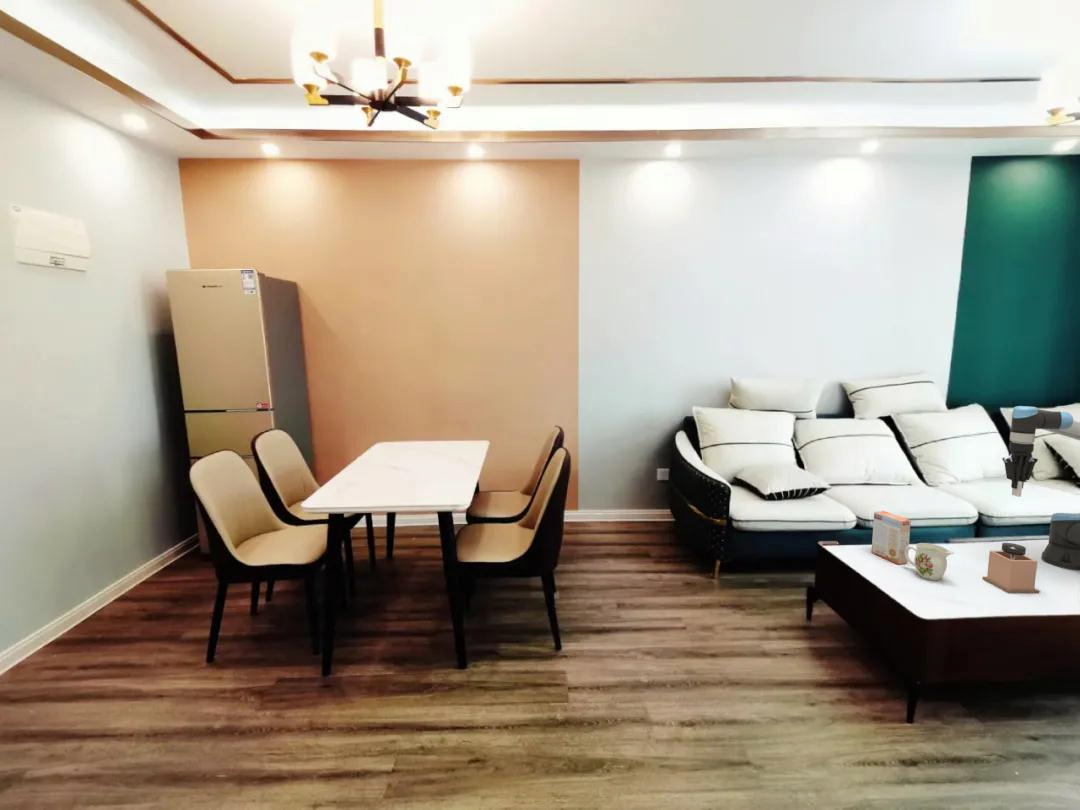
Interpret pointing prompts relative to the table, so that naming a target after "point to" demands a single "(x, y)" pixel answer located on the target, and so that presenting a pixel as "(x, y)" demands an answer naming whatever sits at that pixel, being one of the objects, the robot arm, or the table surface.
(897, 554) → the cracker box
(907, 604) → the table surface
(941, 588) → the table surface
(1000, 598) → the table surface
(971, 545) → the table surface
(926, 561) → the pitcher
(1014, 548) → the plunger
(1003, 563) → the open square box
